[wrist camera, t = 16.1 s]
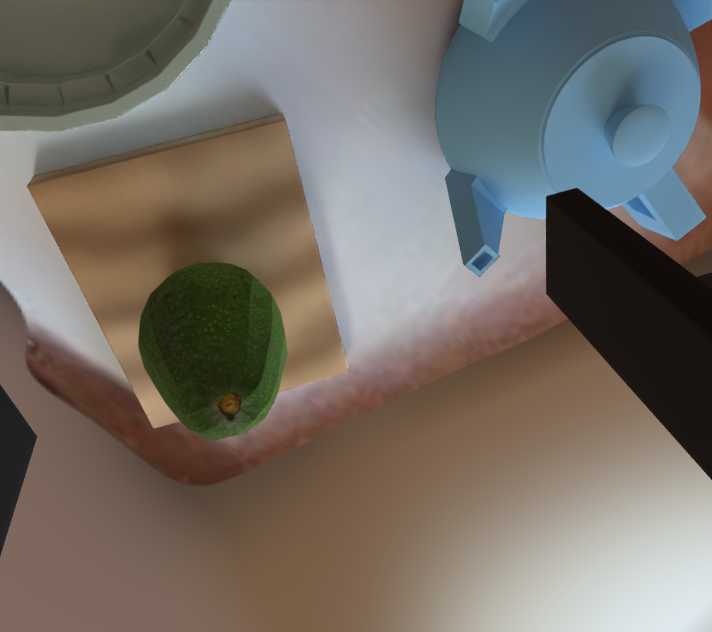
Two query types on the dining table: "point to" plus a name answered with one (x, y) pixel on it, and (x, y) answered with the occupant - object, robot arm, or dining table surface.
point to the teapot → (568, 112)
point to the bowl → (94, 56)
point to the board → (194, 239)
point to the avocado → (214, 348)
